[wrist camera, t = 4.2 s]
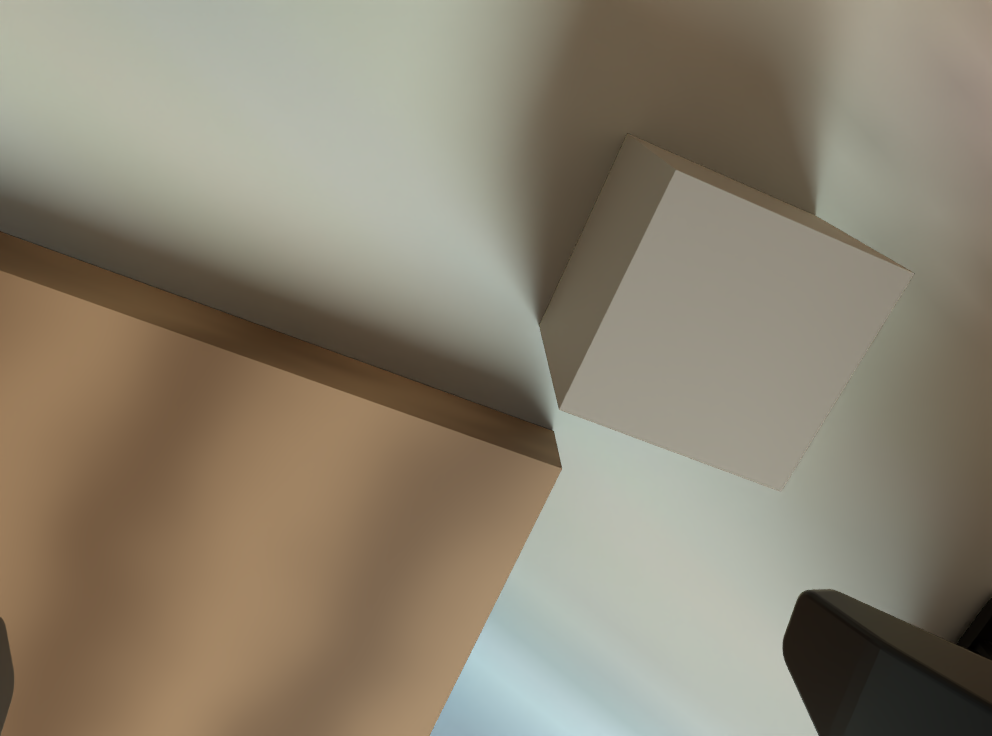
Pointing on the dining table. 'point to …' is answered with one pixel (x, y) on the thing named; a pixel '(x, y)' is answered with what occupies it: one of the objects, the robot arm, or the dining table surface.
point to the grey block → (711, 315)
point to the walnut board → (236, 519)
